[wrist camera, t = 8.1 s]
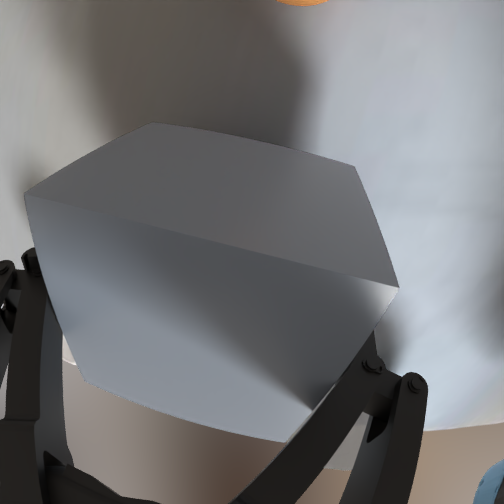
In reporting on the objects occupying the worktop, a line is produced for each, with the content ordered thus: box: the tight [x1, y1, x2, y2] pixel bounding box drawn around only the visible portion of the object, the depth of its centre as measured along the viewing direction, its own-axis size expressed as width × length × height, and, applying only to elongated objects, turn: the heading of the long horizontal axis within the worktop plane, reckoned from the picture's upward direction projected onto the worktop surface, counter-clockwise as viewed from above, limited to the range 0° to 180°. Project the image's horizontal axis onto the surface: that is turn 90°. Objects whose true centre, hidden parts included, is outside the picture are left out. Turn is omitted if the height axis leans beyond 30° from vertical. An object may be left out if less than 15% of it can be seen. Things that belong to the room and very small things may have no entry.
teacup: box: [287, 384, 369, 470], centre depth 27 cm, size 15×12×8 cm
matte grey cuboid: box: [24, 122, 399, 443], centre depth 13 cm, size 10×10×9 cm
